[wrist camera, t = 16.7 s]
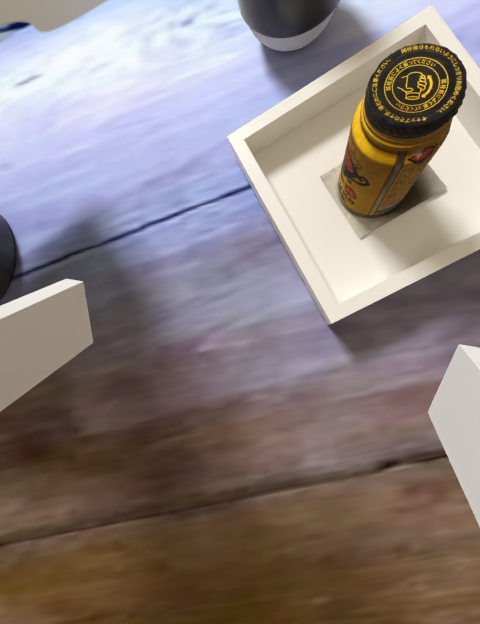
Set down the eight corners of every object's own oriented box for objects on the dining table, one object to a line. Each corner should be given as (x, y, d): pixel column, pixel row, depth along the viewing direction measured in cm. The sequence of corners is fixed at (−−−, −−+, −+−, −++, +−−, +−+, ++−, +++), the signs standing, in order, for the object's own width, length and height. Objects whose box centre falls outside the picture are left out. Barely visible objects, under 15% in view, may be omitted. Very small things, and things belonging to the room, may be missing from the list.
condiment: (319, 177, 29) (330, 73, 18) (400, 127, 28) (470, -21, 16) (359, 239, 28) (399, 172, 16) (445, 189, 27) (556, 78, 15)
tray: (236, 160, 32) (227, 136, 28) (414, 48, 29) (431, 5, 25) (327, 325, 29) (331, 323, 25) (537, 219, 26) (578, 199, 22)
